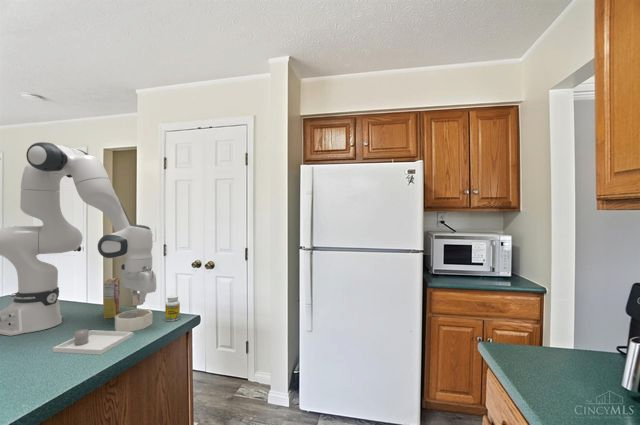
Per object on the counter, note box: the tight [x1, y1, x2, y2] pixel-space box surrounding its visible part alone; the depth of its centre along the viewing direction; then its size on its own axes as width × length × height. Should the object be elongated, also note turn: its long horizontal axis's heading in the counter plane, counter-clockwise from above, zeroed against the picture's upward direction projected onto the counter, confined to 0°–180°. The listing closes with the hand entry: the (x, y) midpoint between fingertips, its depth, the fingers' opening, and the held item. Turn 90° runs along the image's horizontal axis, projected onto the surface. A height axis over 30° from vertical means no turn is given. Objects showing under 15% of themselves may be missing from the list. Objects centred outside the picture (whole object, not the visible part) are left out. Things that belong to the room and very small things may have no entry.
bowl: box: [114, 308, 153, 332], centre depth 113 cm, size 12×12×5 cm
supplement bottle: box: [164, 294, 181, 322], centre depth 122 cm, size 5×5×10 cm
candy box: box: [103, 277, 121, 320], centre depth 126 cm, size 9×4×15 cm, turn 23°
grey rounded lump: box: [125, 313, 136, 319], centre depth 114 cm, size 4×4×4 cm
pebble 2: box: [131, 292, 144, 307], centre depth 113 cm, size 4×4×4 cm
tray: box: [52, 329, 134, 356], centre depth 97 cm, size 16×14×2 cm
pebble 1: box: [74, 328, 90, 346], centre depth 97 cm, size 4×4×4 cm
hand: (138, 301), depth 113 cm, fingers closed on pebble 2, 4 cm apart
